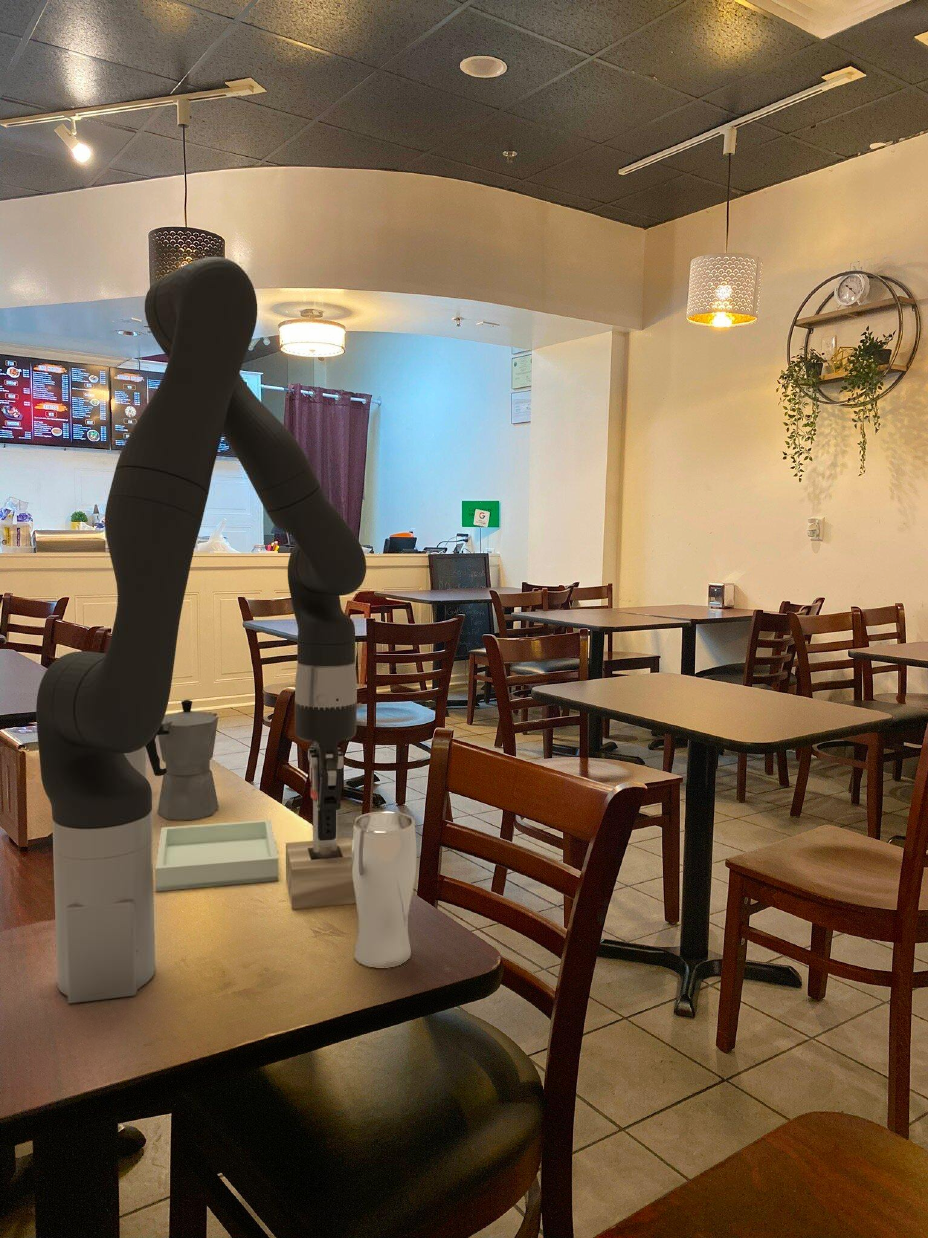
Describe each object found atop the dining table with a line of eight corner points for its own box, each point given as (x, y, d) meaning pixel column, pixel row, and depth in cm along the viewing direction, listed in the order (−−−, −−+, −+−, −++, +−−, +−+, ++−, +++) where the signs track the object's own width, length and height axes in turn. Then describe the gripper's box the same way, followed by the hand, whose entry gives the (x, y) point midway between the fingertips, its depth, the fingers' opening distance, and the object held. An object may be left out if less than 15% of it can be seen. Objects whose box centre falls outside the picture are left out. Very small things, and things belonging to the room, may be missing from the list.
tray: (278, 880, 115) (278, 858, 114) (155, 891, 111) (155, 868, 110) (270, 839, 129) (270, 819, 129) (162, 848, 125) (161, 827, 125)
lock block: (366, 902, 109) (366, 863, 108) (292, 909, 106) (292, 869, 106) (354, 873, 117) (355, 837, 117) (286, 880, 115) (285, 842, 114)
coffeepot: (194, 795, 148) (192, 690, 146) (239, 804, 144) (238, 695, 142) (123, 823, 134) (120, 707, 132) (171, 834, 131) (169, 714, 128)
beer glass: (343, 945, 98) (344, 814, 96) (404, 936, 100) (406, 808, 99) (358, 976, 91) (360, 836, 90) (423, 965, 94) (425, 828, 92)
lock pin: (340, 885, 110) (341, 791, 109) (311, 888, 109) (312, 793, 108) (337, 874, 114) (337, 783, 112) (308, 876, 113) (309, 785, 111)
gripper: (365, 709, 103) (363, 852, 105) (348, 687, 117) (346, 814, 119) (300, 711, 101) (299, 857, 103) (290, 688, 115) (290, 818, 117)
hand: (325, 833), depth 111 cm, fingers closed on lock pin, 3 cm apart
